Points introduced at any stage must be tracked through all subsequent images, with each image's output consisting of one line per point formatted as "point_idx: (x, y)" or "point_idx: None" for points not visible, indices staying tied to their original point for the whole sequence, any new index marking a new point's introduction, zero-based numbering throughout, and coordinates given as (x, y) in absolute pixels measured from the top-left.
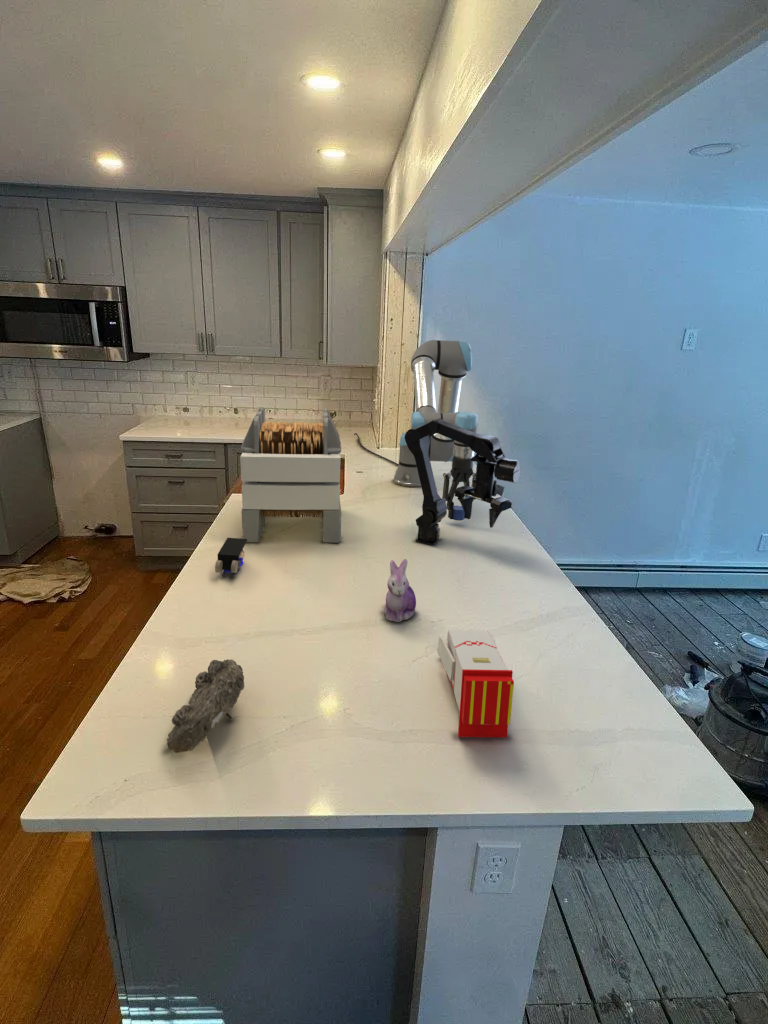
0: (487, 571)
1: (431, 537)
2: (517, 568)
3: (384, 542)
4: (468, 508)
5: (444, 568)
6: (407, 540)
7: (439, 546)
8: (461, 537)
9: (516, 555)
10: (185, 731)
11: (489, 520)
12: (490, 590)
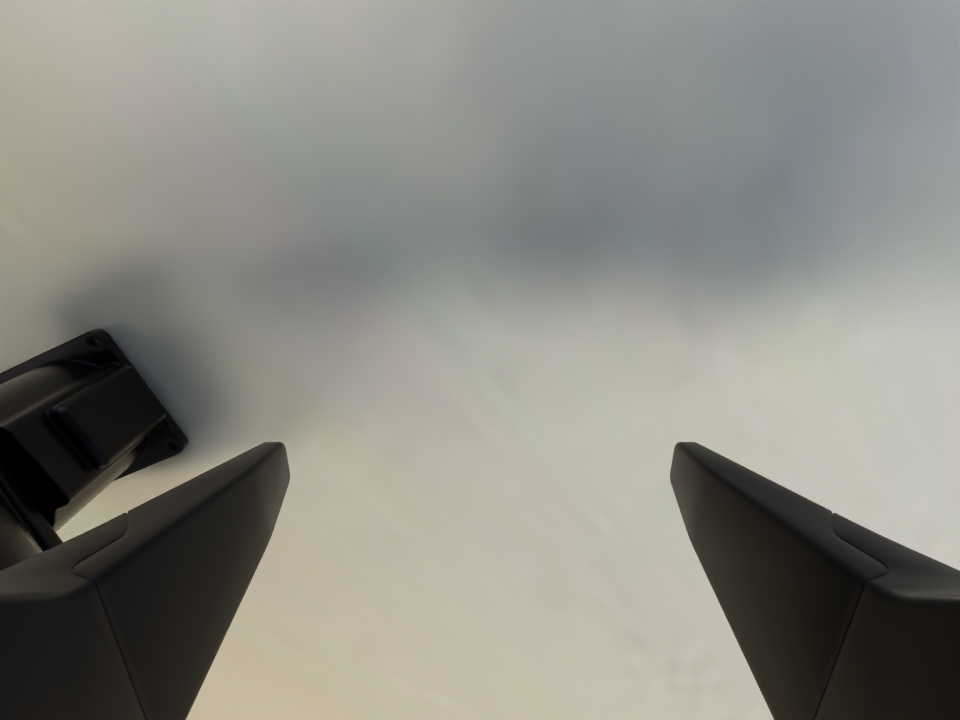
0: None
1: (125, 458)
2: (832, 270)
3: None
4: (194, 615)
5: (492, 602)
6: None
7: (224, 418)
8: (142, 130)
9: (718, 42)
10: None
11: (724, 605)
12: None
